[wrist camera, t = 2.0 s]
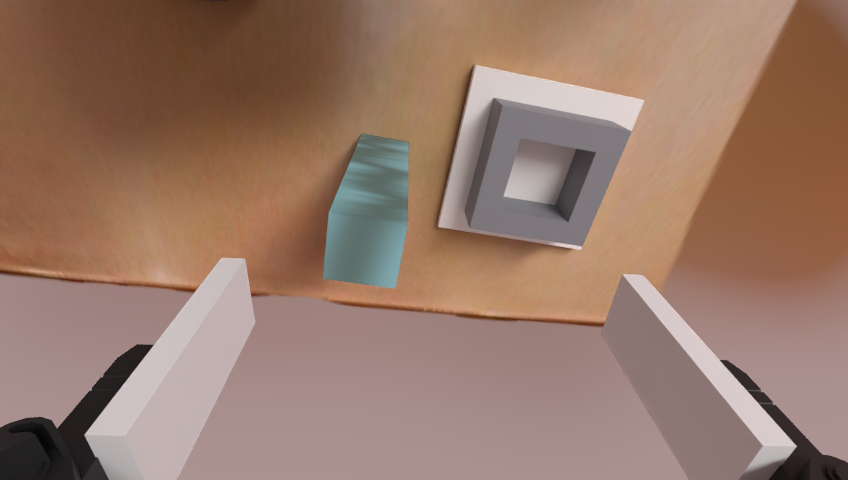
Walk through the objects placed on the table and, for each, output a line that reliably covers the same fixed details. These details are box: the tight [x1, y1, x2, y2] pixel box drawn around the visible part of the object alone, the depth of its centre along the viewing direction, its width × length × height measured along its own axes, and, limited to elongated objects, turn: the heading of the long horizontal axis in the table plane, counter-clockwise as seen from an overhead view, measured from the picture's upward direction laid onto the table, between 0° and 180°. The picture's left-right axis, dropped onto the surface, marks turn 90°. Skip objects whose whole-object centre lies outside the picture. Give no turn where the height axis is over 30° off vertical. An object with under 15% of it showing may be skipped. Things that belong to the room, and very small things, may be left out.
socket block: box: [438, 64, 644, 250], centre depth 34 cm, size 14×14×4 cm
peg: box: [323, 134, 409, 289], centre depth 29 cm, size 4×4×16 cm
